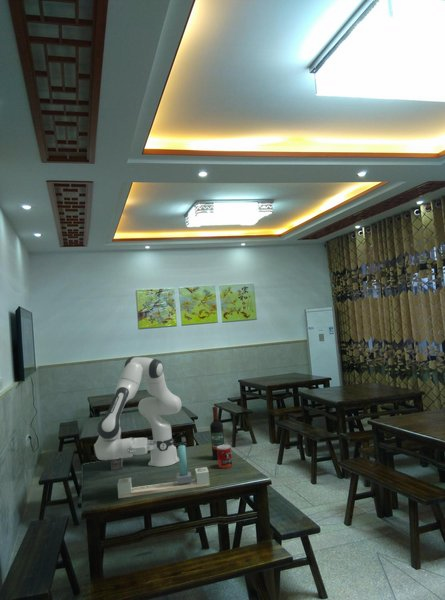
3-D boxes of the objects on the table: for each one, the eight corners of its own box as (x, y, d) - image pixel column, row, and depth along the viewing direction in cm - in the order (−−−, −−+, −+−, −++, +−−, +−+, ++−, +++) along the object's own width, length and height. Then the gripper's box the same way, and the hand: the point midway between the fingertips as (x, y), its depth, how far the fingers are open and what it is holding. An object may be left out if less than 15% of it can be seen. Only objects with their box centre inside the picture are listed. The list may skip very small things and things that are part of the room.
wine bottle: (227, 456, 268) (222, 405, 270) (223, 460, 261) (218, 408, 263) (215, 456, 271) (211, 405, 273) (210, 460, 264) (206, 408, 266)
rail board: (119, 492, 223) (118, 477, 223) (207, 480, 230) (206, 465, 230) (118, 498, 215) (117, 483, 216) (209, 485, 222) (208, 470, 222)
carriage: (177, 479, 227) (174, 445, 228) (190, 477, 228) (188, 443, 229) (177, 484, 220) (175, 448, 221) (192, 482, 221) (189, 447, 222)
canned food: (222, 469, 244) (220, 449, 245) (216, 466, 251) (214, 446, 252) (234, 466, 248) (233, 446, 248) (228, 463, 255) (226, 443, 255)
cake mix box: (122, 469, 261) (118, 416, 263) (111, 470, 260) (107, 418, 262) (122, 459, 283) (119, 410, 285) (112, 460, 282) (109, 411, 283)
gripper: (126, 446, 211) (156, 442, 213) (129, 436, 231) (156, 433, 233) (127, 459, 211) (157, 455, 213) (129, 449, 231) (157, 445, 233)
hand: (156, 444), depth 223 cm, fingers open, 8 cm apart
